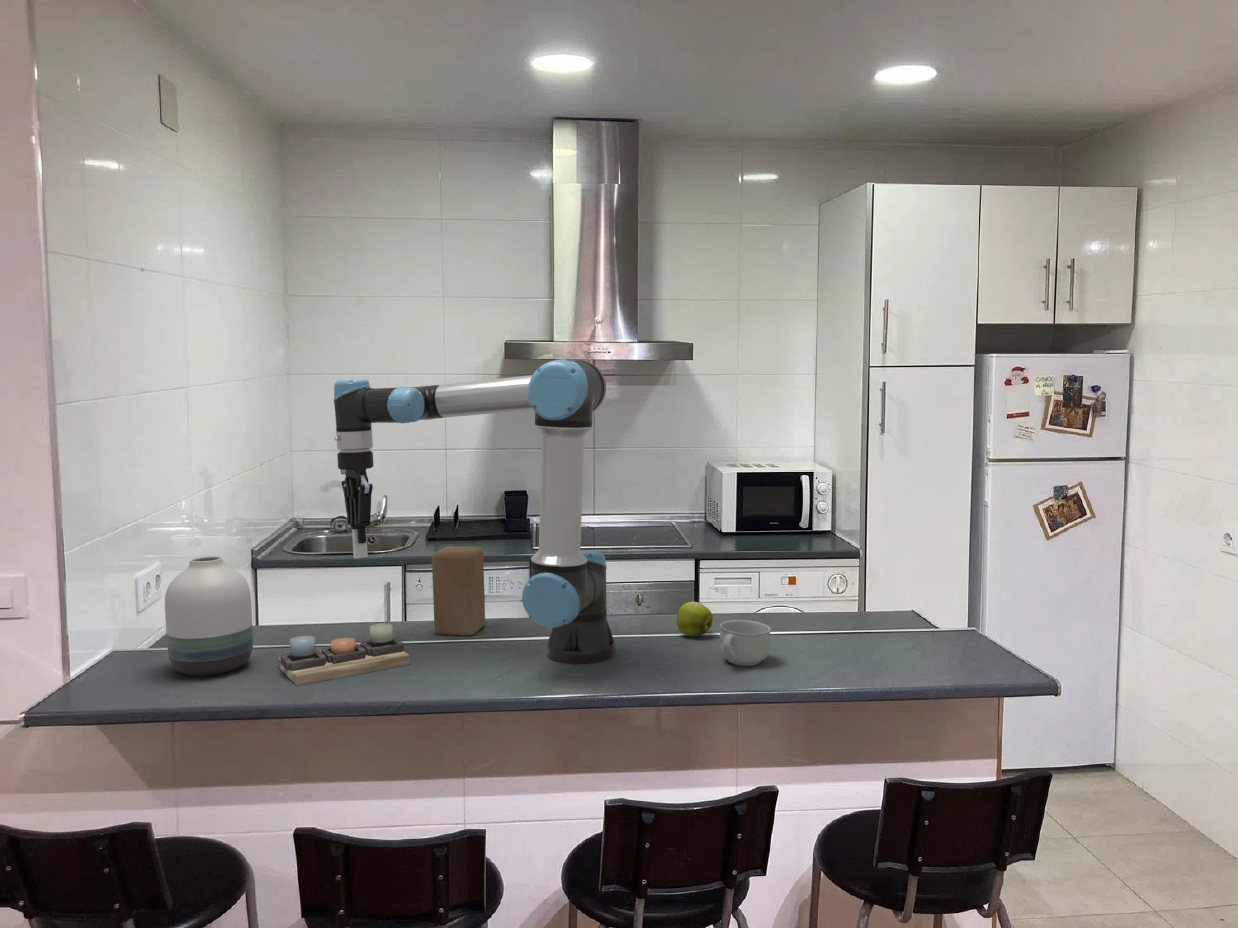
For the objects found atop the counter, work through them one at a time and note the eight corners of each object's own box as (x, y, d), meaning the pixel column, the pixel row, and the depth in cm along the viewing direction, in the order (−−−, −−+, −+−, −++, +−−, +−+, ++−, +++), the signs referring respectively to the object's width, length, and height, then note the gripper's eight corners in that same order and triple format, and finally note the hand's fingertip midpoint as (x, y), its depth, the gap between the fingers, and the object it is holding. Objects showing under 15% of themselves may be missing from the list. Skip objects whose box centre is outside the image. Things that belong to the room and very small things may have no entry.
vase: (150, 676, 201) (143, 563, 198) (211, 654, 216) (205, 549, 214) (212, 685, 195) (206, 568, 192) (271, 661, 210) (266, 553, 208)
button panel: (412, 663, 207) (411, 648, 206) (294, 685, 193) (293, 668, 193) (388, 647, 219) (387, 632, 219) (275, 667, 206) (274, 651, 205)
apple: (685, 629, 231) (685, 596, 231) (718, 634, 226) (718, 601, 225) (668, 636, 225) (667, 603, 224) (701, 642, 220) (701, 608, 219)
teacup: (740, 651, 212) (740, 616, 212) (781, 661, 205) (781, 624, 204) (699, 665, 203) (699, 628, 202) (740, 676, 195) (740, 638, 194)
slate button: (318, 653, 201) (317, 639, 200) (294, 657, 198) (293, 643, 198) (311, 648, 205) (311, 634, 204) (287, 652, 202) (287, 638, 202)
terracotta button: (358, 655, 205) (358, 641, 205) (335, 659, 203) (334, 645, 202) (351, 649, 210) (350, 636, 209) (328, 653, 207) (328, 640, 207)
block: (472, 636, 227) (470, 553, 225) (433, 635, 229) (430, 552, 227) (486, 625, 237) (484, 546, 235) (448, 624, 239) (446, 545, 237)
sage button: (396, 640, 210) (396, 626, 210) (374, 644, 207) (373, 630, 207) (388, 635, 214) (388, 622, 214) (366, 638, 211) (366, 625, 211)
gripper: (328, 450, 212) (334, 555, 214) (348, 453, 201) (354, 563, 203) (361, 448, 216) (366, 551, 218) (382, 450, 205) (388, 559, 208)
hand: (360, 557), depth 211 cm, fingers closed
